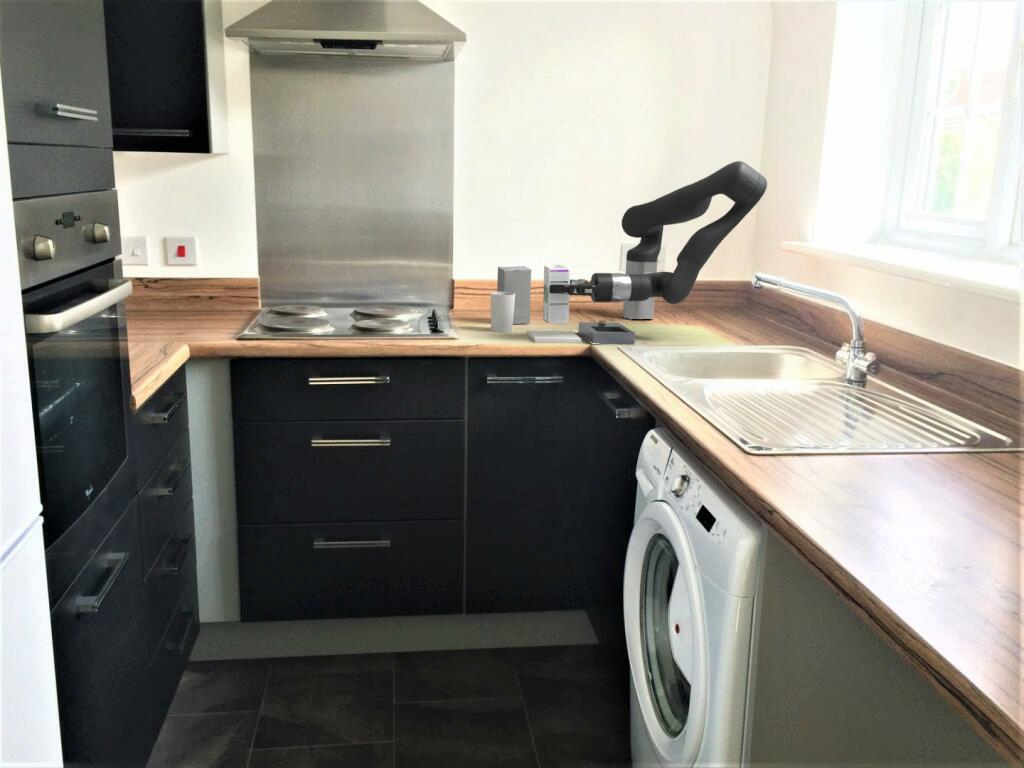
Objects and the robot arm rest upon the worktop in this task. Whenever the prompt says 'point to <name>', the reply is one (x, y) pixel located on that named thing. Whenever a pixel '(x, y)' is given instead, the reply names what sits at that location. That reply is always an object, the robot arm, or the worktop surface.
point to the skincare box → (517, 290)
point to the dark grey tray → (606, 332)
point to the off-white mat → (553, 336)
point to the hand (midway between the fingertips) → (547, 287)
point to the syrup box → (556, 295)
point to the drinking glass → (502, 311)
